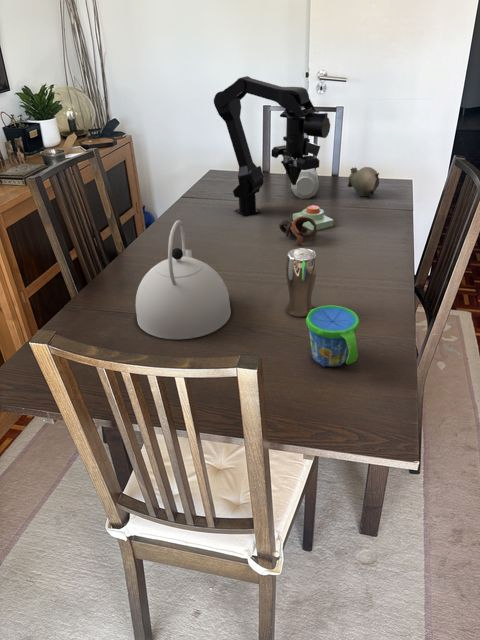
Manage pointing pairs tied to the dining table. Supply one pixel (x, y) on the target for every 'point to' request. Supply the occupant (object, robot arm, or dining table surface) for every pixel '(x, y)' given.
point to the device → (306, 184)
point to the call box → (315, 219)
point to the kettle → (181, 296)
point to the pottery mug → (298, 229)
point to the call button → (313, 209)
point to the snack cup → (333, 335)
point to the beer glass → (300, 280)
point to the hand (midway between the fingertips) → (293, 184)
